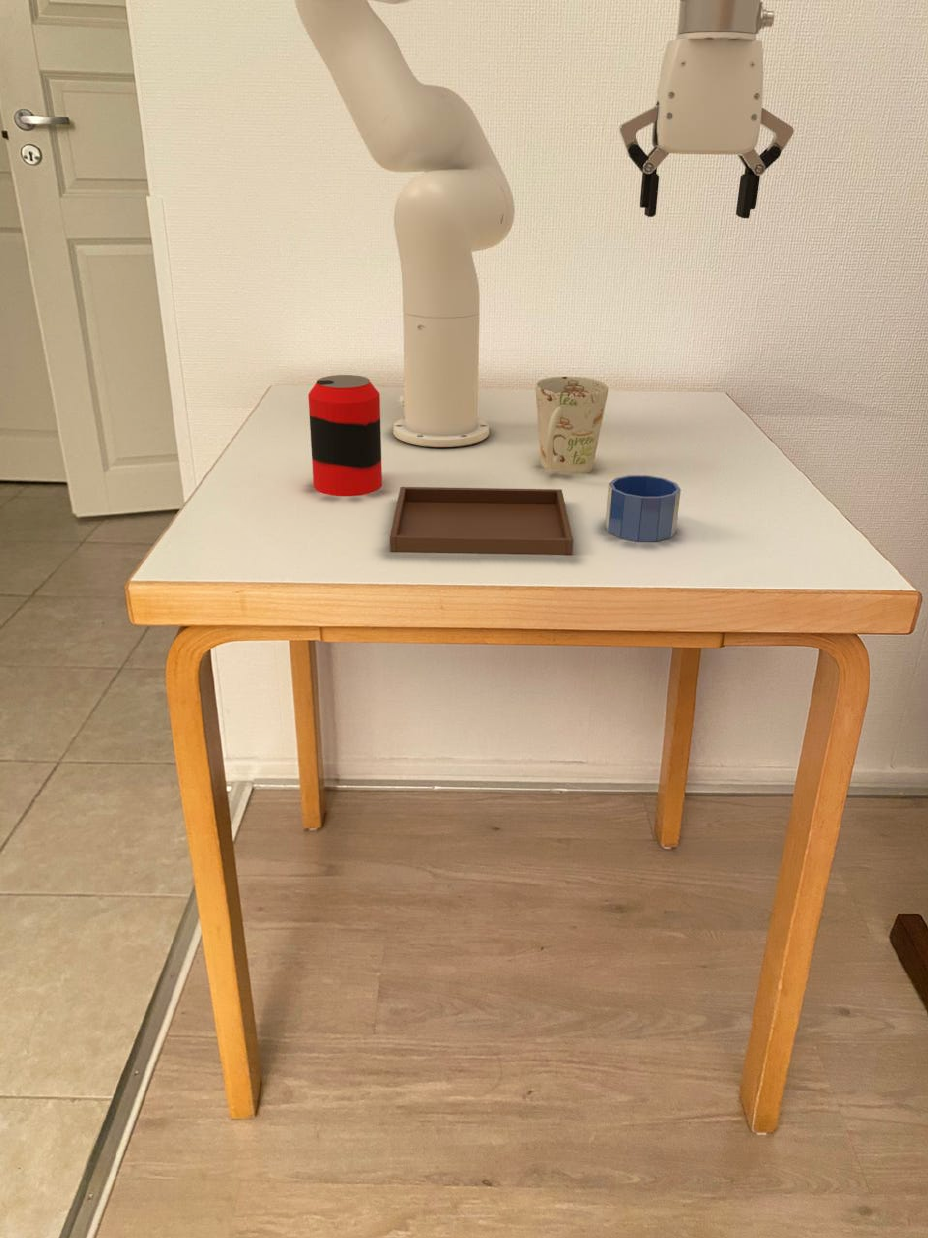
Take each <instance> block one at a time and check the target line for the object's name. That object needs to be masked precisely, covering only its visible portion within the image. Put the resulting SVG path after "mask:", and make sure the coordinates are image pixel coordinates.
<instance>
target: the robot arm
mask: <svg viewBox="0 0 928 1238" xmlns="http://www.w3.org/2000/svg"><path fill="white" fill-rule="evenodd" d="M371 1H372V2H373V1H374V2H378V3H384V4H388V5H400V4H406V3H408V2H410V1H412V0H371ZM294 3H295V4H294V5H295V7H296V11H297V13H298V15H299V17H300V21H301V23H302V24H303V27H304V29H305V31H306V33H307V35H308V37H309V39H310V41H311V42H312V45H313V46H314V47H315V49H316V51H317V52H318V54H319V56H320V58H321V59H322V61H323V63H324V65H325V66H326V68H327V70H328V72H329V73H330V76H331V78H332V80H333V81H334V84H335V86H336V88H337V90H338V93H339V95H340V97H341V99H342V100H343V103H344V104H345V107H346V109H347V111H348V113H349V115H350V116H351V118H352V120H353V123H354V125H355V126H356V129H357V130H358V131H357V132H359V134H360V137H361V139H362V141H363V143H364V145H365V146H366V148H367V150H368V152H369V154H370V156H371V158H372V159H373V161H375V163H376V164H378V165H379V167H381V168H382V169H384V170H386V171H389V172H393V173H420V174H417V175H416V176H414V177H412V178H411V179H410V180H409V181H408V182H407V183H406V184H405V185H404V186H403V187H402V188H401V190H400V192H399V194H398V196H397V197H396V202H395V204H394V208H393V209H394V210H393V226H394V234H395V239H396V246H397V250H398V255H399V261H400V269H401V270H400V271H401V283H402V286H401V287H402V312H403V313H402V314H403V315H402V317H403V318H402V319H403V364H404V365H403V375H404V376H403V377H404V394H403V395H401V396H400V397H399V398H398V404H399V405H400V406H402V407H404V408H403V409H404V417H402V418H401V419H399V420H397V421H396V422H395V423H394V424H393V426H392V427H393V431H392V433H393V436H394V437H395V438H396V439H398V440H399V441H401V442H403V443H407V444H410V445H414V446H420V447H429V448H454V447H464V446H470V445H474V444H477V443H480V442H482V441H484V440H486V439H487V438H488V437H489V435H490V425H489V424H488V422H486V421H484V420H483V419H480V418H479V417H478V415H479V414H478V413H479V412H478V411H479V369H480V368H479V367H480V366H479V365H480V363H479V362H480V319H481V317H480V306H481V305H480V303H481V302H480V301H481V300H480V296H481V295H480V285H479V284H480V283H479V278H478V274H477V269H476V266H475V261H474V258H473V253H475V252H478V251H484V250H488V249H491V248H493V247H495V246H497V245H499V244H500V243H502V242H503V241H504V240H505V239H506V237H508V235H509V233H510V232H511V229H512V227H513V224H514V220H515V213H516V212H515V201H514V200H515V199H514V195H513V192H512V189H511V186H510V184H509V181H508V179H507V177H506V175H505V173H504V170H503V169H502V167H501V165H500V163H499V161H498V158H497V156H496V154H495V153H494V151H493V148H492V146H491V145H490V142H489V140H488V137H487V136H486V133H485V132H484V130H483V128H482V125H481V124H480V122H479V120H478V119H477V116H476V114H475V112H474V111H473V110H472V107H470V105H469V104H468V102H466V100H464V98H462V97H461V96H460V95H459V94H458V93H457V92H455V91H453V90H452V89H450V88H446V87H444V86H441V85H435V84H434V85H433V84H432V85H431V84H424V83H422V82H421V81H419V80H418V78H417V77H416V75H415V74H414V73H413V71H412V70H411V68H410V67H409V64H408V62H407V61H406V59H405V57H404V55H403V53H402V50H401V48H400V46H399V44H398V42H397V40H396V38H395V36H394V35H393V33H392V32H391V31H390V29H389V27H388V26H387V25H386V24H385V22H383V20H382V19H381V18H380V17H379V15H378V14H377V13H376V12H375V10H374V9H373V8H372V7H371V4H370V3H369V0H294ZM763 4H764V3H763V1H761V0H680V1H679V8H678V9H679V10H678V19H677V21H678V22H677V28H676V29H677V31H676V39H672V40H668V41H667V43H666V46H665V50H664V54H663V58H662V62H661V68H660V73H659V79H658V84H657V90H656V97H655V104H654V106H653V107H650V108H649V109H647V110H645V111H643V112H642V113H640V114H638V115H636V116H633V118H631V119H629V120H626V121H625V122H623V123H621V124H620V125H619V127H618V133H619V136H620V138H621V141H622V144H623V146H624V148H625V151H626V155H627V156H628V157H629V158H630V160H631V161H632V162H633V163H634V164H635V165H636V167H637V168H638V170H639V172H640V173H641V184H640V195H639V208H642V209H644V216H646V217H648V218H654V217H655V216H656V215H657V206H658V196H659V187H660V185H659V184H660V175H659V174H658V167H659V166H660V165H661V164H662V163H663V162H664V160H665V159H666V158H667V157H668V156H669V155H670V154H678V155H736V156H737V158H738V160H739V161H740V163H741V164H742V166H743V167H744V174H741V175H740V178H739V185H738V194H737V201H736V208H735V215H736V216H737V217H738V218H742V219H750V216H751V210H755V209H756V207H757V201H758V193H759V187H760V179H761V176H763V175H764V173H765V172H766V171H767V169H769V168H770V167H771V165H772V164H774V163H775V162H776V161H777V160H778V159H779V158H780V157H781V155H782V152H783V150H784V149H785V148H786V146H787V145H788V143H789V141H790V140H791V138H792V137H793V135H794V132H795V130H794V127H793V126H792V125H790V124H788V122H785V121H784V120H782V119H781V118H779V117H777V116H776V115H775V114H773V113H771V112H769V111H768V110H767V109H765V108H764V107H763V93H764V92H763V90H764V47H763V41H762V40H761V39H759V40H757V35H758V34H759V32H760V31H761V29H763V30H764V28H772V27H773V25H774V20H775V11H774V10H768V9H766V8H764V6H763ZM649 125H652V129H651V144H652V145H651V146H652V147H653V148H652V149H651V150H650V151H649V152H648V153H647V154H646V152H645V151H644V150H643V149H642V147H641V146H640V144H639V142H638V139H637V133H638V132H639V131H641V130H642V129H645V128H646V127H648V126H649ZM761 127H762V128H764V129H766V130H768V131H769V132H770V133H772V135H773V136H772V137H773V138H772V140H771V142H770V144H768V147H766V148H765V149H764V150H763V151H762V152H761V153H760V154H758V152H757V151H756V147H757V145H758V141H759V136H760V132H761V131H760V130H761Z"/></svg>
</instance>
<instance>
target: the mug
mask: <svg viewBox="0 0 928 1238" xmlns="http://www.w3.org/2000/svg"><path fill="white" fill-rule="evenodd" d="M608 395H609V385H608V384H607V383H605V382H604V381H602V380H598V379H594V378H589V377H581V376H552V377H547V378H542V379H540V380H538V381H537V382H536V383H535V399H536V400H535V403H536V415H537V428H538V439H539V452H540V463H541V464H540V465H541V467H542V468H543V469H545V470H547V471H551V472H554V473H558V474H559V473H560V474H580V473H581V474H582V473H587V474H589V473H591V472H592V470H593V467H594V464H595V463H594V462H595V458H596V453H597V449H598V443H599V440H600V439H599V438H600V434H601V428H602V426H603V425H602V423H603V419H604V414H605V409H606V404H607V400H608Z"/></svg>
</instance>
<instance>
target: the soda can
mask: <svg viewBox="0 0 928 1238" xmlns="http://www.w3.org/2000/svg"><path fill="white" fill-rule="evenodd" d="M307 395H308V412H309V426H310V428H309V429H310V446H311V462H312V463H311V465H312V479H313V480H312V481H313V488H314V489H315V491H317V492H318V493H321V494H323V495H327V496H334V497H359V496H365V495H369V494H372V493H375V492H376V491H379V490H380V489H381V488H382V486H383V477H382V476H383V475H382V473H383V472H382V471H383V469H382V440H381V439H382V438H381V437H382V436H381V397H380V392H379V391H378V389H377V388H376V386H374V385H373V383H372V382H371V380H370V378H368V377H365V376H361V375H353V374H338V375H337V374H336V375H329V376H324V377H320V378H318V379H317V380H316V382H315V384H314V385H313V387H312V388H311V390H310V391H309V392H308V394H307Z"/></svg>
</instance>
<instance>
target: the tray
mask: <svg viewBox="0 0 928 1238" xmlns="http://www.w3.org/2000/svg"><path fill="white" fill-rule="evenodd" d="M571 528H572V527H571V525H570V520H569V516H568V511H567V507H566V502H565V498H564V493H563V490H562V489H561V488H559V489H557V488H554V489H552V488H500V487H499V488H497V487H496V488H494V487H491V488H490V487H440V486H439V487H436V486H435V487H433V486H428V487H427V486H423V487H422V486H400V487H399V492H398V497H397V502H396V506H395V512H394V515H393V519H392V526H391V529H390V530H391V531H390V535H389V552H390V553H414V554H415V553H418V554H419V553H420V554H423V553H424V554H468V555H469V554H471V555H472V554H473V555H475V554H477V555H478V554H479V555H481V554H482V555H531V556H533V555H536V556H537V555H539V556H540V555H541V556H573V551H574V537H573V534H572V529H571Z"/></svg>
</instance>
